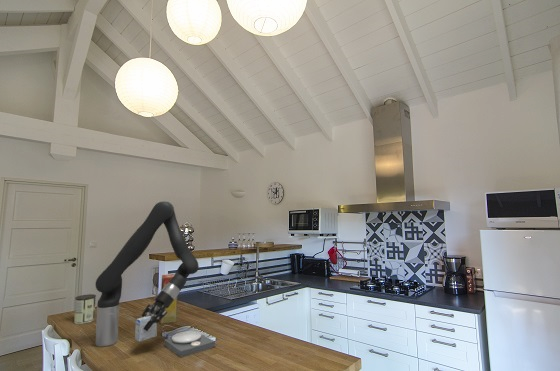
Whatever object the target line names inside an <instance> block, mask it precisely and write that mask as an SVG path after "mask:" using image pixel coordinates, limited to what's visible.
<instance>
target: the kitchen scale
mask: <svg viewBox="0 0 560 371" xmlns="http://www.w3.org/2000/svg"><path fill="white" fill-rule="evenodd" d="M163 346H164V347H166V348H167V349H169V350H170V351H171V352H173V353H174V354H175V355H176V356H177V357H179V358H184V357H187V356H190V355H194V354H197V353H201V352H203V351H206V350H210V349H213V348H215V346H216V345H215V341H214V340H212V339H211V338H209V337H208V336H205V335H203V334H202V333H201V332H200V331H197V330H196V331H195V330H186V331H180V332H177V333H176V334H173V335H172V337H170V338H166V339H164V342H163Z"/></svg>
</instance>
